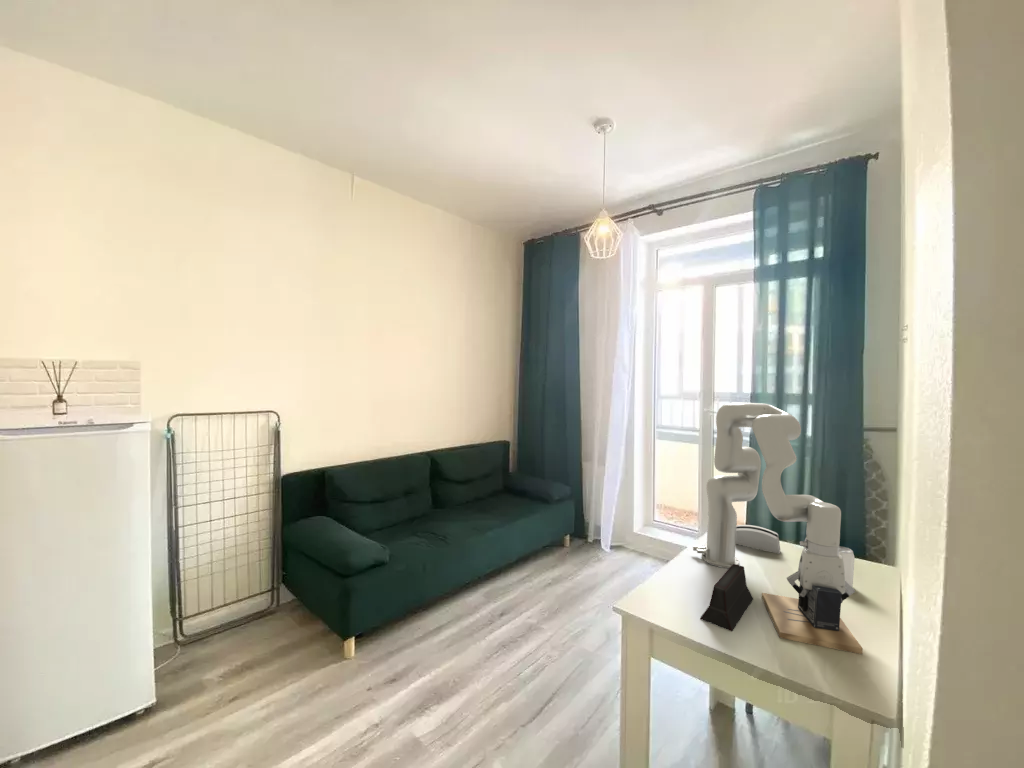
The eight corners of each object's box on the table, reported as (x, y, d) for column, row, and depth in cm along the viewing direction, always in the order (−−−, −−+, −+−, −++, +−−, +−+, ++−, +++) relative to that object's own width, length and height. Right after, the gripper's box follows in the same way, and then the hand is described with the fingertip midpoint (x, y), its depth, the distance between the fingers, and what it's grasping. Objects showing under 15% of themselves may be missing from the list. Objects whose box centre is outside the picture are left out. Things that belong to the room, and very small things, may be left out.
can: (845, 591, 142) (847, 554, 141) (824, 581, 148) (826, 546, 147) (857, 587, 144) (859, 551, 144) (835, 578, 150) (837, 544, 150)
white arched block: (780, 549, 174) (781, 528, 171) (779, 557, 170) (780, 536, 167) (733, 539, 183) (733, 519, 180) (732, 546, 179) (732, 526, 176)
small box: (841, 632, 116) (843, 593, 115) (813, 628, 117) (816, 589, 117) (822, 610, 126) (824, 574, 126) (796, 607, 127) (798, 572, 127)
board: (779, 637, 115) (780, 631, 115) (761, 597, 136) (762, 592, 136) (862, 654, 109) (862, 648, 109) (830, 609, 130) (830, 604, 130)
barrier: (732, 632, 117) (734, 596, 117) (699, 619, 123) (700, 584, 122) (754, 599, 135) (755, 567, 134) (723, 589, 140) (725, 558, 140)
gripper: (789, 548, 120) (786, 612, 121) (866, 558, 115) (862, 626, 115) (782, 538, 127) (779, 599, 128) (853, 548, 122) (850, 611, 122)
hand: (818, 611), depth 121 cm, fingers closed on small box, 6 cm apart
